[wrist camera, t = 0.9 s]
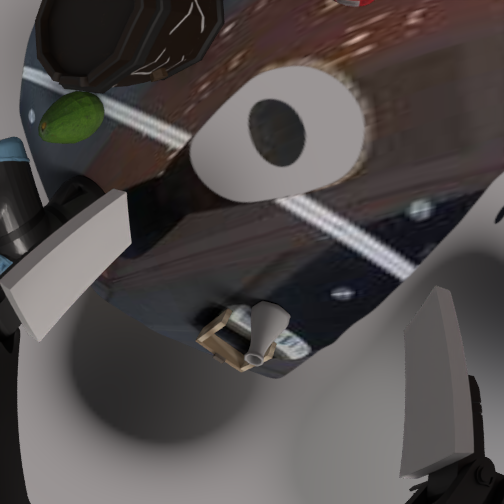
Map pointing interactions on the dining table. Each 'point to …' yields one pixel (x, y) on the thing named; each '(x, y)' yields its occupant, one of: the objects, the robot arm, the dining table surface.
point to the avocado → (72, 118)
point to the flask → (265, 329)
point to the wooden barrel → (123, 40)
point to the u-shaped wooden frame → (224, 350)
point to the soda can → (354, 2)
